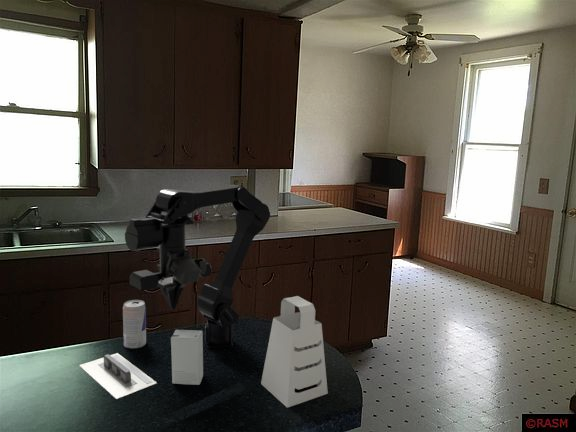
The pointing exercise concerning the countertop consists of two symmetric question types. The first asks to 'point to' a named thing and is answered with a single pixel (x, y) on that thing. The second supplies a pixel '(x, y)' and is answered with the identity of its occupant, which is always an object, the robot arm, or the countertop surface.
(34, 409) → the countertop surface
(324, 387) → the grater
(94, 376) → the breaker panel
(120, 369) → the breaker paddles
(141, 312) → the energy drink
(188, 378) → the skincare box
